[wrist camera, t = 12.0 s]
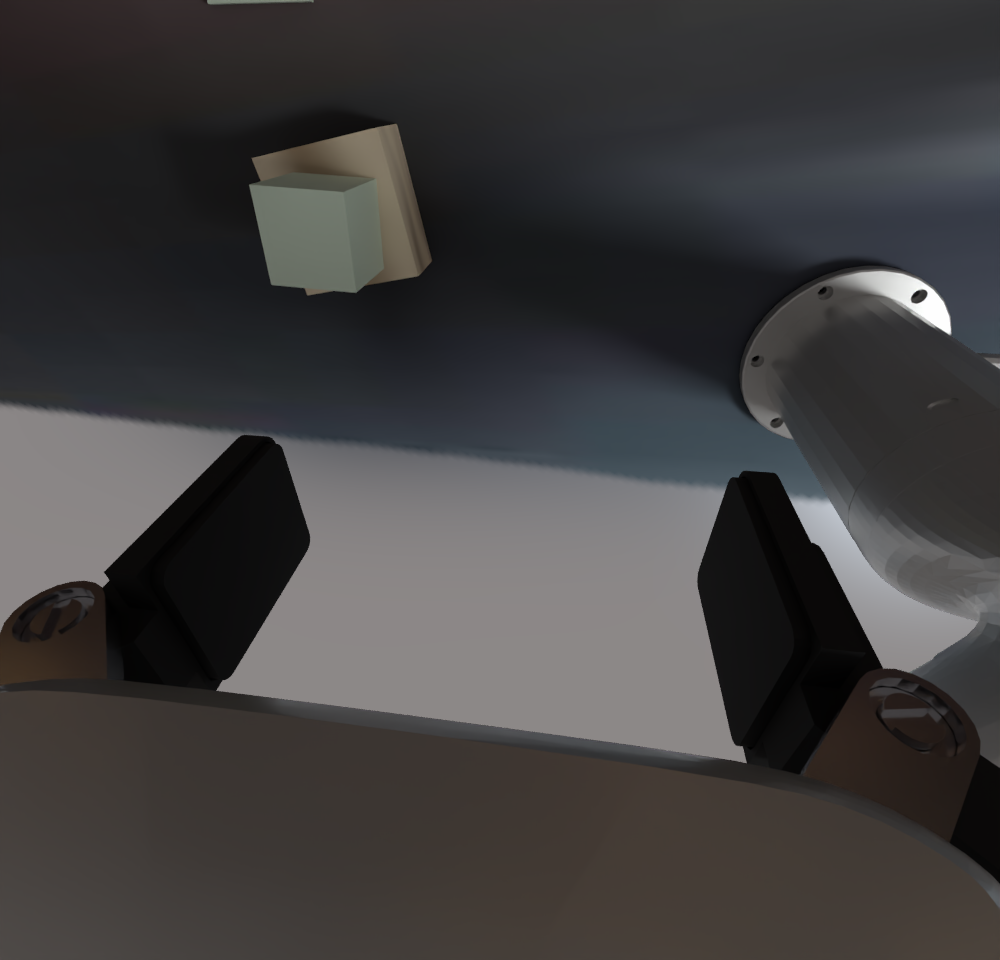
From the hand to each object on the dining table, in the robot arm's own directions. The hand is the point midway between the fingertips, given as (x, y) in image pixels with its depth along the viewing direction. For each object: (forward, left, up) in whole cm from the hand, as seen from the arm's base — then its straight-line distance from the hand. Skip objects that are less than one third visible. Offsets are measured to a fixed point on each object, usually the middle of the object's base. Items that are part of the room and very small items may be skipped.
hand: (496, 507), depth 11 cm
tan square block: (+13, -1, -29) cm, 32 cm away
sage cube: (+13, -1, -25) cm, 28 cm away
